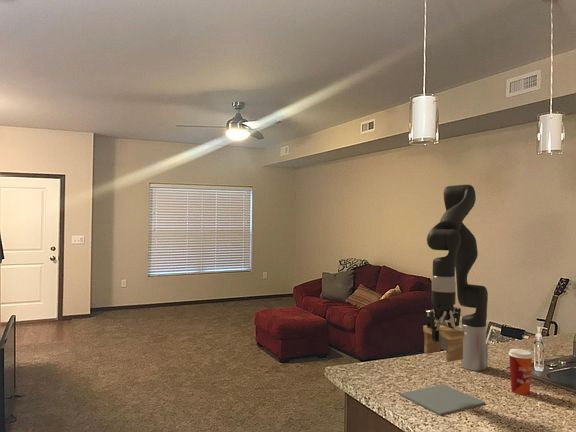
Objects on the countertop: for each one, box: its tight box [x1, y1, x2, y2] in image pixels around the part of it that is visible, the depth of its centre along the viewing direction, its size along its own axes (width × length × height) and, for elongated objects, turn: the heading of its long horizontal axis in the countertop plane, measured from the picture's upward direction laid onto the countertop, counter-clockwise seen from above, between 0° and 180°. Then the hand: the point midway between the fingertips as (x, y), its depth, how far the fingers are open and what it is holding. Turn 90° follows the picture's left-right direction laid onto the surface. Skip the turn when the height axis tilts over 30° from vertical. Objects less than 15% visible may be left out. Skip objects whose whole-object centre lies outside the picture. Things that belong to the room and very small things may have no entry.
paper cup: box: [508, 348, 534, 396], centre depth 160 cm, size 8×8×14 cm
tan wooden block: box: [422, 323, 464, 363], centre depth 152 cm, size 12×6×9 cm, turn 28°
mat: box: [399, 384, 486, 416], centre depth 152 cm, size 20×18×1 cm
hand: (443, 340), depth 152 cm, fingers closed on tan wooden block, 6 cm apart
